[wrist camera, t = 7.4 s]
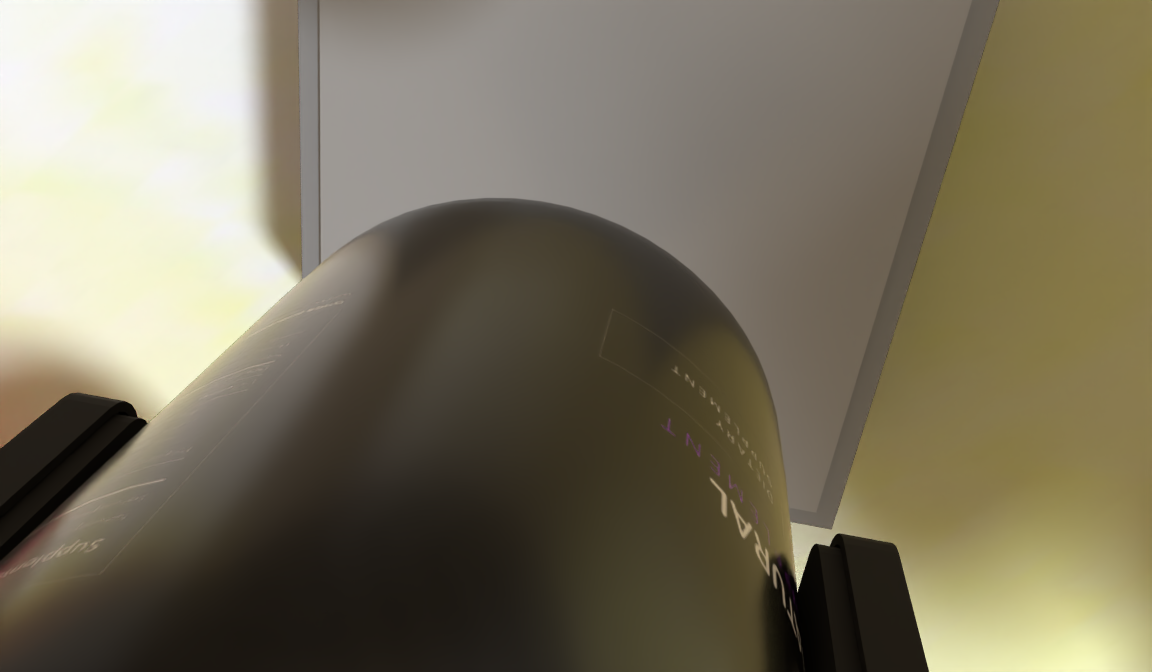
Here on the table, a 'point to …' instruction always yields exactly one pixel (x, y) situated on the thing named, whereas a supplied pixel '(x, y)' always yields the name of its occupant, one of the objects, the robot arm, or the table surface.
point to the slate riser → (670, 156)
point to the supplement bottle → (440, 476)
